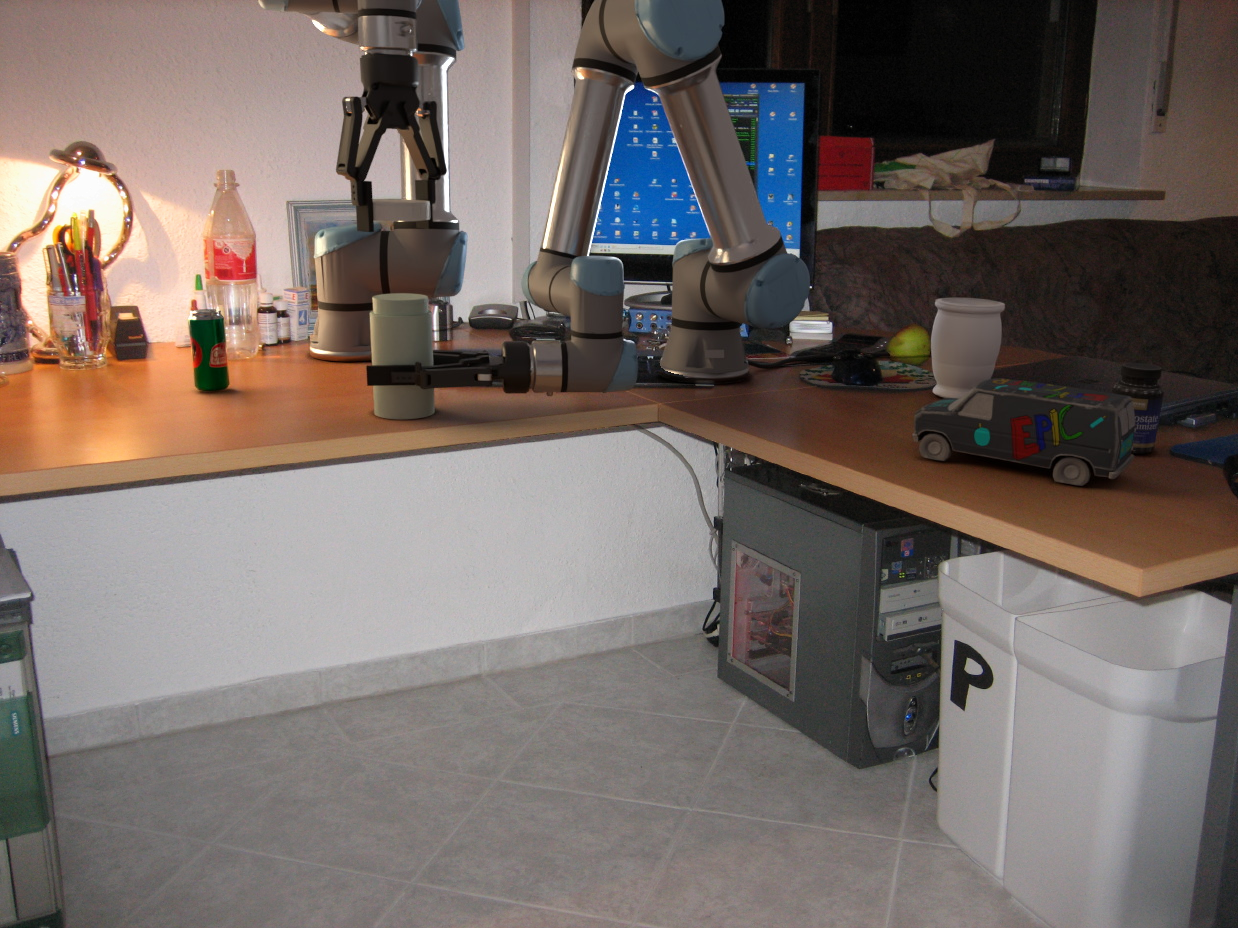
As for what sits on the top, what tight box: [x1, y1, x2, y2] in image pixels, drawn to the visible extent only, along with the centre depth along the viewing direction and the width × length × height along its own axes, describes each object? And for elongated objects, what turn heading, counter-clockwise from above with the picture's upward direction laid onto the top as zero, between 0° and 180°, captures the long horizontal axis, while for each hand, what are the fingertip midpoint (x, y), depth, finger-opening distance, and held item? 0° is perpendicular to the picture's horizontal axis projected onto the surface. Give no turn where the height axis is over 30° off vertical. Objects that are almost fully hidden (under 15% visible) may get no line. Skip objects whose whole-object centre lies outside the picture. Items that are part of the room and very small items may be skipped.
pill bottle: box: [1111, 362, 1165, 455], centre depth 139 cm, size 6×6×11 cm
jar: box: [930, 297, 1006, 399], centre depth 168 cm, size 11×10×15 cm
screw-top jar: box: [370, 293, 436, 420], centre depth 151 cm, size 8×8×16 cm
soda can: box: [187, 308, 231, 393], centre depth 163 cm, size 5×5×12 cm
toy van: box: [911, 377, 1136, 487], centre depth 131 cm, size 11×25×10 cm, turn 54°
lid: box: [373, 198, 431, 222], centre depth 145 cm, size 9×9×2 cm
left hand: (395, 229), depth 146 cm, fingers closed on lid, 9 cm apart
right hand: (369, 369), depth 151 cm, fingers closed on screw-top jar, 8 cm apart
